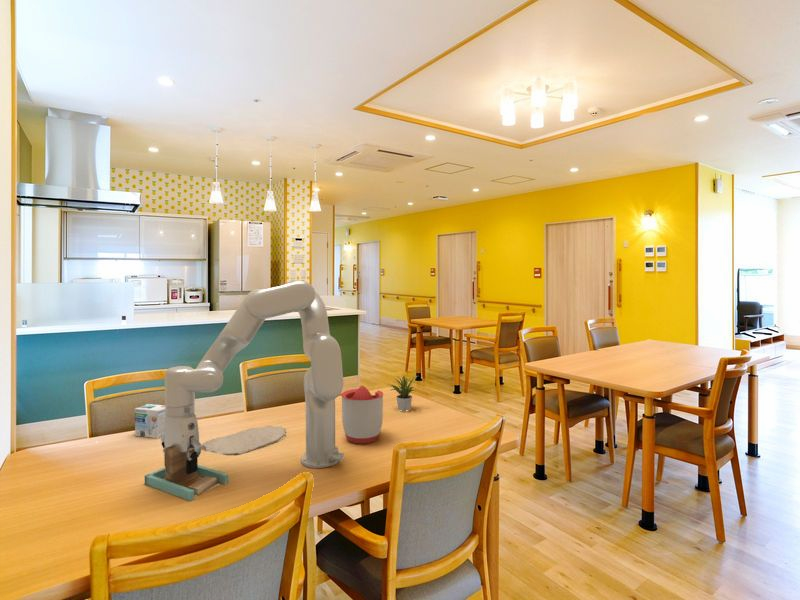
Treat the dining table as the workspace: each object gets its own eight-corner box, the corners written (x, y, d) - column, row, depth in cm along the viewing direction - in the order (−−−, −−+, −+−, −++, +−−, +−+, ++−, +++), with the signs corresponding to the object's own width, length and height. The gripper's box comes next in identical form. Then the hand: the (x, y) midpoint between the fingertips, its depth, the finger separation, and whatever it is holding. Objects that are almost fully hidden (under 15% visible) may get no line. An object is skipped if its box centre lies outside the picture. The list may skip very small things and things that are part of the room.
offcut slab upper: (216, 484, 126) (216, 477, 126) (198, 495, 119) (198, 488, 119) (206, 482, 127) (206, 476, 127) (187, 493, 121) (187, 486, 120)
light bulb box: (134, 436, 167) (133, 408, 166) (148, 430, 173) (147, 403, 173) (158, 439, 164) (157, 410, 164) (171, 432, 171) (171, 405, 170)
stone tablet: (198, 449, 156) (198, 442, 156) (274, 427, 178) (273, 421, 177) (219, 462, 145) (219, 455, 144) (297, 438, 166) (297, 432, 166)
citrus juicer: (392, 433, 170) (392, 382, 169) (370, 449, 155) (370, 392, 154) (357, 427, 177) (357, 378, 176) (333, 442, 161) (332, 388, 160)
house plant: (407, 403, 211) (407, 369, 210) (427, 409, 201) (427, 374, 200) (383, 408, 202) (383, 373, 201) (403, 416, 191) (403, 378, 191)
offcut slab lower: (219, 490, 126) (219, 484, 126) (195, 503, 119) (195, 496, 119) (210, 487, 128) (209, 481, 128) (185, 499, 121) (185, 493, 121)
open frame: (228, 486, 127) (228, 474, 127) (190, 505, 117) (190, 492, 116) (183, 471, 137) (183, 460, 137) (144, 487, 126) (144, 475, 126)
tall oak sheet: (197, 480, 131) (196, 441, 130) (172, 492, 124) (171, 450, 123) (191, 478, 132) (190, 439, 131) (165, 490, 125) (164, 448, 124)
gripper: (211, 411, 126) (212, 470, 127) (173, 402, 134) (174, 458, 135) (187, 418, 119) (188, 480, 120) (149, 408, 127) (150, 467, 128)
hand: (180, 468), depth 127 cm, fingers open, 9 cm apart
